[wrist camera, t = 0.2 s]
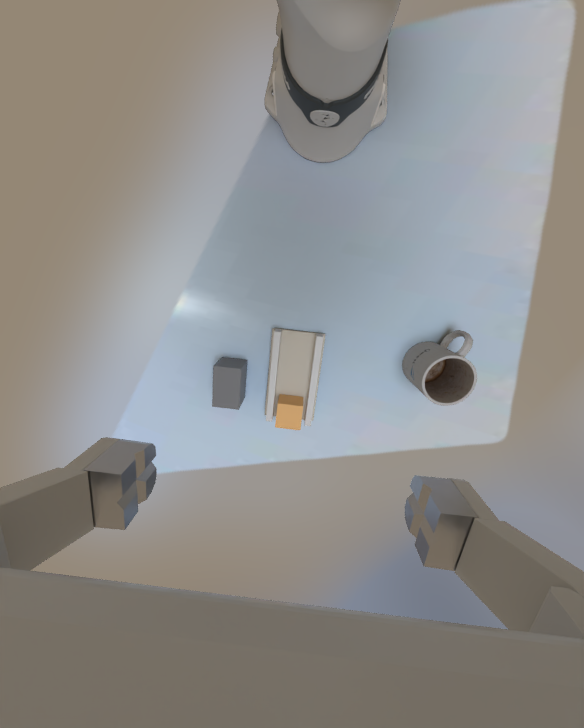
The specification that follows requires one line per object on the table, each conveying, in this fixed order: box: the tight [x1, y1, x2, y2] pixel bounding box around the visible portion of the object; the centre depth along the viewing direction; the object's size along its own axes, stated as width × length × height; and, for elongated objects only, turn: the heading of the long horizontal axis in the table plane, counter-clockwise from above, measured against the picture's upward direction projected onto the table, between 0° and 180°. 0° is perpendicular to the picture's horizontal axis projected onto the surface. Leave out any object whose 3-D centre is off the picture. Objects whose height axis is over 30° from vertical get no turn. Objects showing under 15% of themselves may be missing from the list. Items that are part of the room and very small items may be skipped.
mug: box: [402, 330, 477, 406], centre depth 51 cm, size 12×9×10 cm
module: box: [212, 357, 247, 410], centre depth 56 cm, size 8×5×6 cm, turn 174°
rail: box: [265, 328, 325, 430], centre depth 56 cm, size 18×10×6 cm, turn 174°
